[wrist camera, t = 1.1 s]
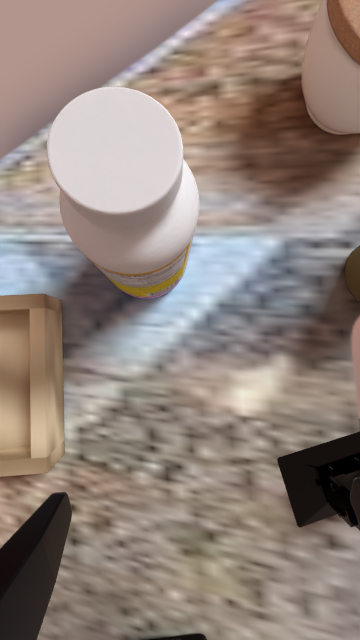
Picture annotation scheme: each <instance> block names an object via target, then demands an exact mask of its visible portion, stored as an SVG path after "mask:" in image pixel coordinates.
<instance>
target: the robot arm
mask: <svg viewBox="0 0 360 640" xmlns="http://www.w3.org/2000/svg"><path fill="white" fill-rule="evenodd" d="M350 501H351V505H352V507H353V509H354V511H355V513H356V516H357V518H358V520H359V522H360V478H355V479H354V480H353V484H352V489H351V493H350ZM71 516H72V510H71V506H70V502H69V498H68V494H67V493H66V492H57V493H53V494H52V495H50V496H49V497H48V499H47V500H46V501H45V502H44V503H43V504H42V505H41V506H40V507H39V508H38V509H37V510H36V511H35V512H34V513H33V514H32V516H31V517H30V518H29V519H28V520H27V521H26V522H25V523H24V524H23V525H22V526H21V527H20V528H19V529H18V530H17V531H16V532H15V534H14V535H13V536H12V537H11V538H10V539H9V540H8V541H7V542H6V543H5V544H4V545H3V546H2V547H1V548H0V640H37V637H38V634H39V631H40V628H41V625H42V622H43V619H44V616H45V613H46V610H47V607H48V604H49V601H50V598H51V595H52V592H53V588H54V585H55V582H56V578H57V574H58V571H59V566H60V562H61V558H62V554H63V550H64V546H65V542H66V538H67V534H68V530H69V526H70V522H71ZM151 640H207V639H206V637H205V635H203V634H195V635H187V636H178V637H169V638H160V639H151Z"/></svg>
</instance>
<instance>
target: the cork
mask: <svg viewBox="0 0 360 640" xmlns="http://www.w3.org/2000/svg"><path fill="white" fill-rule="evenodd" d="M345 279H346V284H347V286H348V288H349V290H350V293H351V294H352V295H353V296H354V297H355V298H356V300H357V301H359V302H360V246H359V247H357V248H356V249H355V250H354V251H353V252H352V253H351V255H350V256H349V258H348V260H347V262H346V267H345Z"/></svg>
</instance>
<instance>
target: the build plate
mask: <svg viewBox="0 0 360 640" xmlns="http://www.w3.org/2000/svg"><path fill="white" fill-rule="evenodd" d="M277 461H278V464H279V467H280V471H281V474H282V477H283V480H284V483H285V487H286V490H287V493H288V496H289V500H290V503H291V506H292V509H293V512H294V516H295V519H296V522H297V525H298V527H302V526H305V525H308V524H311V523H313V522H316V521H319V520H322V519H324V518H327V517H330V516H333V515H335V514H338V515H339V517H342V518H343V519H344V520H345V521H346V522H347V523H348V524H349V525H350V526H351V527H354V526H356V527H357V528H358V529H359V530H360V522H359V520H358V518H357V516H356V513H355V511H354V509H353V507H352V505H351V501H350V493H351V489H352V484H353V480H354V479H355V478H360V432H357V433H354V434H351V435H348V436H345V437H342V438H339V439H335V440H332V441H329V442H326V443H323V444H320V445H317V446H314V447H310V448H307V449H304V450H301V451H298V452H295V453H292V454H288V455H285V456H282V457H279V458H278V459H277Z"/></svg>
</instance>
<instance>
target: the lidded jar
mask: <svg viewBox="0 0 360 640" xmlns="http://www.w3.org/2000/svg"><path fill="white" fill-rule="evenodd" d="M301 80H302V90H303V95H304V98H305V103H306V109H307V112H308V114H309V116H310V118H311V120H312V121H313V122H314V123H315V124H316V125H317V126H318V127H319V128H320V129H322V130H324V131H326V132H328V133H331V134H335V135H347V134H352V133H360V0H322V2H321V4H320V7H319V9H318V11H317V14H316V16H315V19H314V22H313V24H312V27H311V30H310V33H309V36H308V40H307V43H306V47H305V51H304V56H303V62H302V74H301Z"/></svg>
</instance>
